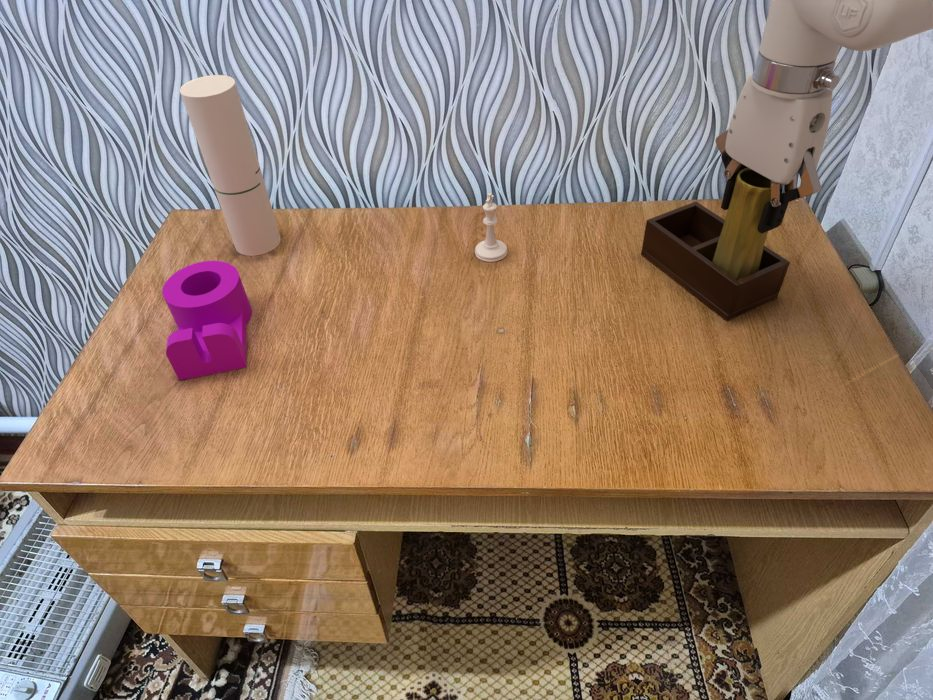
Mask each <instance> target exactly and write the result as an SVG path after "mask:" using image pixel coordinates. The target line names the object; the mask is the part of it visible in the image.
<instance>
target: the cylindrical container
mask: <svg viewBox="0 0 933 700" xmlns="http://www.w3.org/2000/svg"><path fill="white" fill-rule="evenodd" d="M179 93H180V96H181V99H182V101H183V104H184V107H185V110H186V113H187V116H188V119H189V121H190V124H191V127H192V130H193V133H194V135H195V138H196V141H197V144H198V147H199V150H200V153H201V155H202V158H203V161H204V164H205V167H206V170H207V172H208V175H209V178H210V181H211V183H212V187H213V190H214V193H215V195H216V197H217V201H218V203H219V206H220V209H221V212H222V215H223V218H224V220H225V223H226V226H227V228H228V232H229V235H230V237H231V240H232V243H233V246H234V248H235V251H236V252H237V253H239V254H240V255H243V256H247V257H256V256H261V255H265V254H267V253H270V252H272V251H273V250H275V249H276V248H277V247H278V246H279V245H280V243H281V241H282V238H281V233H280V231H279V227H278V224H277V219H276V216H275V213H274V210H273V207H272V203H271V200H270V196H269V192H268V189H267V186H266V183H265V180H264V176H263V172H262V170H261V166H260V163H259V158H258V156H257V153H256V149H255V146H254V141H253V138H252V135H251V132H250V131H251V130H250V128H249V125H248V122H247V118H246V115H245V112H244V108H243V105H242V101H241V97H240V94H239V91H238V87H237V84H236V81H235V78H233V77H232V76H230V75H225V74H211V75H204V76H200V77H197V78H193V79H191V80H189V81H187V82H185V83H183V84H182V85H181V86H180V88H179Z"/></svg>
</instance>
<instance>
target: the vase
mask: <svg viewBox="0 0 933 700" xmlns="http://www.w3.org/2000/svg"><path fill="white" fill-rule="evenodd" d="M782 185H783V184H782ZM783 186H784V185H783ZM770 198H771V180H770V179H768V178H766V177H765V176H763V175H761V174H759V173H757V172H755V171H754V170H752V169H750V168H745V169H743V170H741V171H740V172H739V173H738V176H737V179H736V182H735V186H734V190H733V194H732V198H731V201H730V204H729V208H728V210H726V211H727V212H726V215H725V218H724V220H725V221H724V225H723V228H722V231H721V234H720V238H719V241H718V245H717V248H716V252H715V255H714V258H713V261H712V262H713V263H714V264H715V265H717V266H718V267H720V268H721V269H722V270H724V271H725V272H726V273H728V274H729V275H731V276H732V277H733V278H735V279H736V280H739V279H742V278H744V277H746V276H749V275H751V274H753V273H755V272H758V271H759V266H760V262H761V257H762V253H763V248H764V246H766V245H765V244H766V240H767V236H768V234H769V231H767V232H765V233H762V234H761V233H760V232H758V230H757V228H758V225H759V222H760V218H761V215H762V212H763V208H764V205H765V204H766V203H768V202H770Z"/></svg>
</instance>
